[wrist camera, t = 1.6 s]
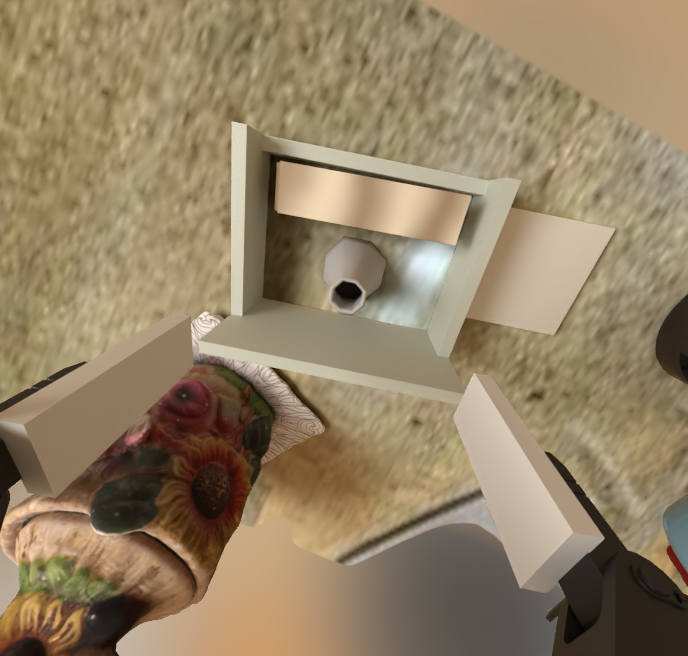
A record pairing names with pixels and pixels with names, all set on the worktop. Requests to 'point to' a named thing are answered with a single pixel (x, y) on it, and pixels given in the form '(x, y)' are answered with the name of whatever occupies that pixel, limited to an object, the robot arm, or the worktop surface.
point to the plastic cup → (677, 564)
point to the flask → (352, 273)
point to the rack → (338, 329)
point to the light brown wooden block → (369, 203)
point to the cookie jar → (148, 510)
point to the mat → (537, 270)
